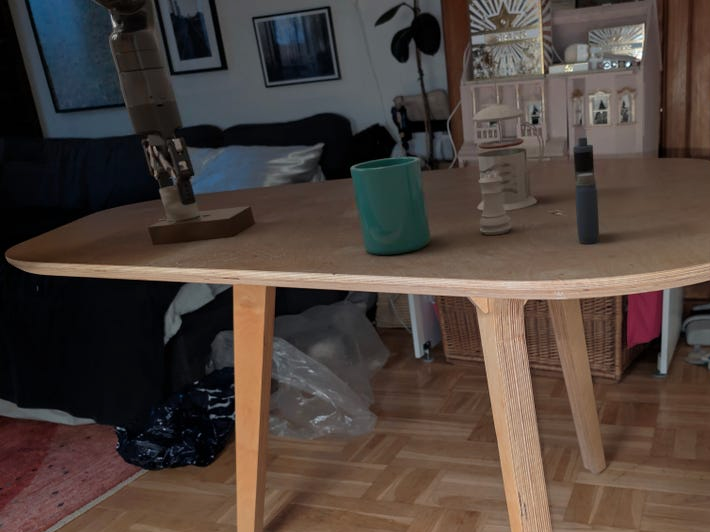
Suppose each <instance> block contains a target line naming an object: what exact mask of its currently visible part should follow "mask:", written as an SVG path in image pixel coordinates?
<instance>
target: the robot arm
mask: <svg viewBox="0 0 710 532" xmlns="http://www.w3.org/2000/svg"><path fill="white" fill-rule="evenodd" d="M91 1H92V2H94V3H95V4H96V5H98V6H100V7H102V8H104V9H107V10H108V13H109V17H110V21H111V27H112V32H111V34H110V35H109V39H108V41H109V47H110V48H109V49H110V51H111V55H112V58H113V61H114V64H115V68H116V72H117V75H118V80H119V85H120V91H121V94H122V98H123V101H124V103H125V106H126V111H127V113H128V118H129V120H130V123H131V128H132V130H133V133H134V134H135V135H136V136H144V135H145V136H146V135H147V138H145V139H142V140H141V145H142V149H143V151H144V155H145V159H146V162H147V167H148V169H149V173H150V175H151V176H153V177H154V178H155V180H156V181H157V182H158V185H159V189H161V188H164V187H169V186H174V185H176V187H177V190H178V194H179V197H180V201H181V204H183V205H189V204H194V203H195V202H196V203H197V200H196V196H194V195H195V192H194V189H192V188H193V185H192V182H191V180H192V177H194V176H195V169H194V168H193V164H192V160H191V157H190V155H189V154H190V153H189V150H188V147H187V144H186V140H185V138H184V137H176V135H175V133H174V131H178V130H182V128H183V127H184V123H183V120H182V117H181V114H180V110H179V106H178V102H177V98H176V95H175V91H174V88H173V84H172V81H171V79H170V76H169V74H168V71H167V69H166V65H165V61H164V58H163V55H162V50H161V47H160V44H159V41H158V39H157V28H156V27H157V26H156V18H155V11H154V3H153V0H91ZM174 182H175V184H174Z"/></svg>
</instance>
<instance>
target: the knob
mask: <svg viewBox="0 0 710 532" xmlns="http://www.w3.org/2000/svg"><path fill="white" fill-rule="evenodd" d="M192 189H193V187H192ZM193 190H194V189H193ZM158 192H159V195H160V199H161V201H162V205H163V208H164V212H165V216H166V218H167V219H168V221H181V220H187V219H191V218H195V217H197V216H199V215H200V214H199V212H200V210H199V206H198V203H197V201H196V202H195V203H194V204H189V205H183V204H181V201H180V197H179V194H178V190H177V187H176V184H174V186H169V187H164V188H161V189H160V188H159V189H158ZM194 196H195V194H194ZM195 197H196V196H195Z"/></svg>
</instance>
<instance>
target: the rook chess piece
mask: <svg viewBox="0 0 710 532" xmlns="http://www.w3.org/2000/svg"><path fill="white" fill-rule="evenodd" d="M500 175H501V174H500V172H499V171H497V172H496V171H492V174H489V172H486V174H484V173H481V174H480V173H479V177H480V176H481V178H479V180H478V183H479V185H480V186H481V185H482V188H483V191H482V190H481V195H482V194H483V198H482V200H483V199H484V205H483V210H482V214H481V218H480V219H479V225H480V226H481V227H480V228H479V231H480V232H481V234H483V235H486V236H497V235H503V234H506V233H509V232H510V230H511V229H512V225H511V224H510V222H511V218H510V216H509V215H508V214H507V211H506V210H504V207H503V203H502V199H501V191H502V190H503V189H500V183H501V182H503V180H502V178H501V176H500Z"/></svg>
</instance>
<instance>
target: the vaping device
mask: <svg viewBox="0 0 710 532" xmlns="http://www.w3.org/2000/svg"><path fill="white" fill-rule="evenodd" d="M577 141H578V142H577V143H578V144H577V145H576V146H573V149H572V150H573V165H574V166H573V167H574V182H575V183H574V184H575V215H576V226H577V227H576V229H577V236H578V242H579V243H580V244H582V245H583V244H584V245H587V244H588V245H589V244H595V243H598V241H599V236H600V226H599V225H600V223H599V205H598V204H599V203H598V201H599V200H598V199H599V198H598V189H597V182H596V179H595V163H594V162H595V161H594V145H593V144H588V138H587V137H581V138H577Z"/></svg>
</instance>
